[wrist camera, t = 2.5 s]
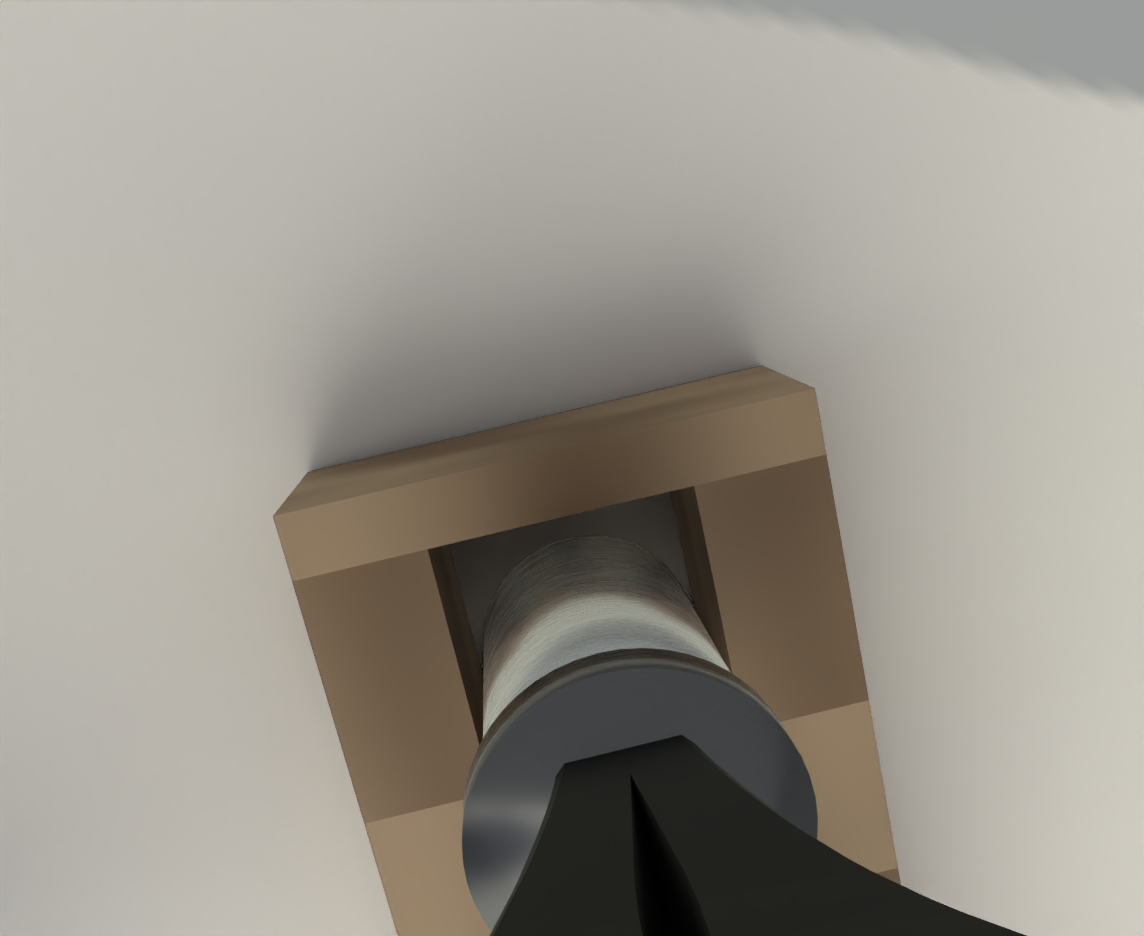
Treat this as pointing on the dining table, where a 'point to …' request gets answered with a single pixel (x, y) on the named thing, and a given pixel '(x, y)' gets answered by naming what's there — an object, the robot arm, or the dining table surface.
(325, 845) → the dining table surface
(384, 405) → the dining table surface
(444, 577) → the jig
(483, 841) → the plunger
